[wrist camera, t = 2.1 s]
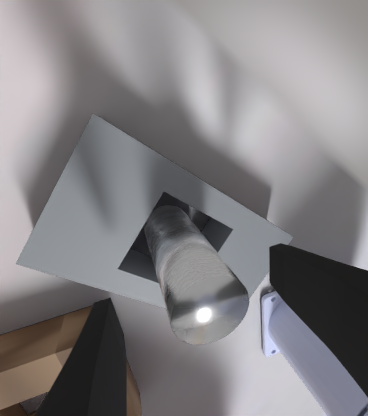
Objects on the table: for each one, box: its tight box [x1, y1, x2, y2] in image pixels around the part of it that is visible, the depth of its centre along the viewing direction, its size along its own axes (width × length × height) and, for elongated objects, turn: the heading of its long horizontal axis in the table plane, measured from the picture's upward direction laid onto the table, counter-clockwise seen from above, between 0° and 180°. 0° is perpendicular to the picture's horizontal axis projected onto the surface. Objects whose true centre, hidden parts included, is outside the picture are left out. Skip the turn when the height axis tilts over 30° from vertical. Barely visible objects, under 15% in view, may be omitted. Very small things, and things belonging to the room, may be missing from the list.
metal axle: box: [144, 205, 249, 345], centre depth 12 cm, size 3×3×8 cm
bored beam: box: [16, 114, 293, 309], centre depth 15 cm, size 14×8×3 cm, turn 57°
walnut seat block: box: [0, 306, 142, 416], centre depth 16 cm, size 11×11×3 cm
